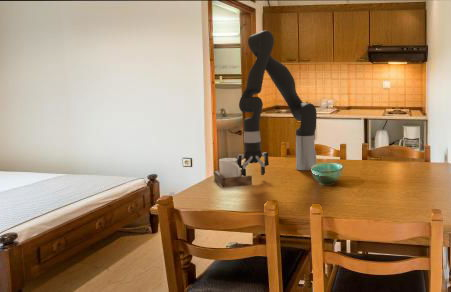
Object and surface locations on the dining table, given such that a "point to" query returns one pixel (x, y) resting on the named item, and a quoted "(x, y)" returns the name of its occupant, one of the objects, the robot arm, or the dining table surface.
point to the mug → (229, 167)
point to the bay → (232, 180)
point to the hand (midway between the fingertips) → (253, 175)
